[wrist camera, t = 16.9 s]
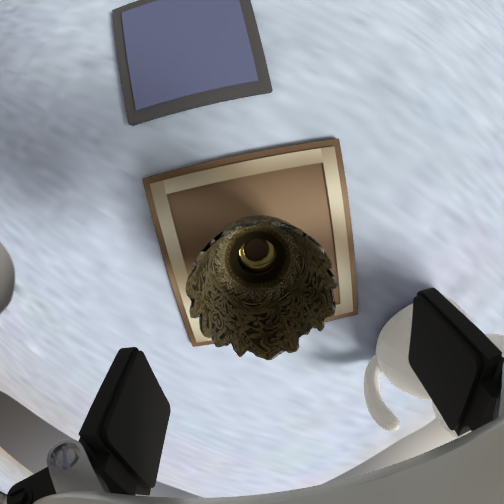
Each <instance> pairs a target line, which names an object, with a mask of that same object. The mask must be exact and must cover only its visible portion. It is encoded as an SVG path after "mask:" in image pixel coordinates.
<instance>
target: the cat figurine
mask: <svg viewBox="0 0 504 504" xmlns="http://www.w3.org/2000/svg"><path fill="white" fill-rule="evenodd" d="M443 296H444V295H443ZM444 297H445V298H446V299H447V300H449V301H450V302H451V303H452V304H453V305H454V306H455V307H456V308H457V309H458V310H459V311H461V312H462V313H463V314H464V315H465V316H466V317H467V318H468V319H469V320H470V321H471V319H470V318H469V316H468V315H467V314H466V313H465V311H464V310H463V309H462V308H461V307H460V306H459V305H458V304H457V303H456V302H454V301H453V300H451V299H449V298H447V297H446V296H444ZM412 313H413V303H412V304H410V305H408V306H407V307H405V308H404V309H402V310H400V311H399V312H398V313H397V314H395V315H394V316H393V317H391V319H390V320H389V321H388V322H387V323H386V324H385V325H384V327H383V328H382V330H381V332H380V334H379V337H378V340H377V345H376V353H375V354H374V356H373V357H372V358H371V360H370V361H369V363H368V365H367V367H366V371H365V376H364V395H365V400H366V404H367V407H368V410H369V412H370V414H371V416H372V417H373V419H374V420H375V421H376V423H377V424H378V425H379V426H381V427H382V428H384V429H385V430H388V431H396V430H398V429H399V426H400V423H399V420H398V418H397V417H396V416H395V415H394V414H393V413H392V411H391V410H390V409H389V408H388V407H387V406H386V404H385V403H384V401H383V399H382V397H381V393H380V386H379V379H380V373H381V370H382V372H383V373H384V374H385V376H386V377H387V379H388V380H389V381H390V382H391V383H392V384H393V385H394V386H395V387H397V388H399V389H400V390H402V391H404V392H406V393H408V394H410V395H412V396H415V397H418V398H420V399H424V400H432V399H431V398H430V396H429V395H428V393H427V391H426V390H425V388H424V387H423V385H422V383H421V382H420V380H419V379H418V377H417V376H416V374H415V372H414V371H413V369H412V368H411V366H410V364H409V360H408V354H409V346H410V337H411V326H412ZM471 322H472V321H471ZM485 335H486V336H487V337H488V338H489V339H490V340H491V341H492V342H493V343H494V344H495V345H496V346H497V347H498V348H499V350H500V351H501V352H502V355H501V356H502V357H503V358H504V336H502V335H498V334H485ZM432 403H433V401H432ZM433 409H434V413H435V415H436V417H437V420H438V421H439V422H440V424H441V425H442V426H443V427H444V428H445V429H446V430H447V431H448V432H449V433H450V434H451V435H453V436H455V437H457V438H459V437H461V436H464V435H466V434H468V433H470V432H472V431H471V430H470V431H468V432H466V433H464V434H462V435H460V436H458V435H457V434H456V432H455V430H453V431H452V430H450V429H449V428H448V426H447V424H446V422H445V421H444V419H443V417H442V416H441V414H440V412H439V411H438V409H437V407H436V406H435V404H434V403H433Z"/></svg>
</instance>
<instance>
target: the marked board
mask: <svg viewBox="0 0 504 504" xmlns="http://www.w3.org/2000/svg"><path fill="white" fill-rule="evenodd" d="M143 183H144V187H145V191H146V195H147V199H148V203H149V207H150V211H151V215H152V219H153V222H154V226H155V230H156V233H157V237H158V240H159V244H160V247H161V251H162V254H163V258H164V261H165V265H166V268H167V271H168V274H169V278H170V281H171V284H172V287H173V290H174V293H175V297H176V300H177V303H178V306H179V309H180V312H181V315H182V318H183V321H184V323H185V326H186V329H187V332H188V335H189V338H190V340H191V343H192V346H193V347H195V346H202V345H209V344H215V343H214V341H213V340H212V338H207V337H204V336H203V334H202V333H201V330H200V325H199V317H198V318H196V319H195V318H191V317H190V312H189V310H190V306H191V300H190V298H189V297H188V296H187V294H186V282H187V279H188V276H189V273H190V271H191V269H192V267H193V265H194V261H195V259H196V257H197V255H198V254H199V252H200V251H201V250H202V249H204V247H205V246H206V245H207V244H208V243H209V242H210V241H211V239H212V238H213V237H214V236H215V235H216V234H217V233H218V232H219V231H220V230H221V229H223V228H224V227H225V226H227V225H228V224H230V223H232V222H233V221H236V220H238V219H240V218H244V217H247V216H253V215H266V216H272V217H276V218H279V219H282V220H284V221H286V222H288V223H290V224H292V225H294V226H295V227H297V228H299V229H301V230H303V232H305V233H306V234H307V235H309V236H311V237H312V238H313V239H315V240H316V241H317V242H318V243H319V244H320V245H321V246H322V247H323V248H324V251H325V252H326V254H327V256H328V257H329V258H330V260H331V261H332V268H331V269H330V270H331V272H332V274H333V275H334V276H335V277H336V280H337V283H338V288H336V289H333V294H334V298H335V304H336V310H335V314H334V316H333V317H330V318H327V319H324V322H328V321H332V320H336V319H340V318H345V317H349V316H353V315H357V314H358V297H357V281H356V267H355V255H354V244H353V234H352V225H351V216H350V208H349V200H348V193H347V186H346V179H345V172H344V166H343V160H342V154H341V148H340V142H339V139H331V140H324V141H317V142H310V143H304V144H297V145H291V146H285V147H279V148H274V149H268V150H263V151H257V152H252V153H247V154H242V155H237V156H233V157H228V158H223V159H219V160H214V161H210V162H205V163H201V164H197V165H193V166H189V167H185V168H181V169H177V170H173V171H169V172H165V173H161V174H158V175H154V176H150V177H147V178H143ZM267 252H268V247H267V244H266V243H265V242H264V241H263V240H261V239H252V240H250V241H249V242H248V243H247V244H246V246H245V253H246V255H247V257H248V258H250V259H251V260H255V261H257V260H261V259H263V258H264V257H265V256H266V255H267Z"/></svg>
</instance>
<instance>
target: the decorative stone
mask: <svg viewBox="0 0 504 504" xmlns="http://www.w3.org/2000/svg"><path fill="white" fill-rule="evenodd" d="M0 504H7V495H6V494H4V493H2V492H0Z"/></svg>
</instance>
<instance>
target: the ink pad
mask: <svg viewBox="0 0 504 504" xmlns="http://www.w3.org/2000/svg"><path fill="white" fill-rule="evenodd" d="M112 11H113V22H114V31H115V40H116V48H117V56H118V63H119V70H120V76H121V83H122V89H123V95H124V101H125V106H126V112H127V117H128V122H129V125H132V126H134V125H137V124H140V123H143V122H147V121H150V120H153V119H156V118H160V117H163V116H167V115H170V114H174V113H178V112H181V111H185V110H189V109H193V108H197V107H201V106H206V105H210V104H214V103H219V102H223V101H228V100H233V99H238V98H243V97H249V96H254V95H260V94H266V93H271V92H272V86H271V82H270V77H269V73H268V69H267V64H266V60H265V56H264V52H263V48H262V44H261V39H260V35H259V31H258V28H257V24H256V20H255V16H254V12H253V8H252V5H251V1H250V0H139V1H136V2H133V3H130V4H127V5H125V6H122V7H119V8H117V9H114V10H112Z"/></svg>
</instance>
